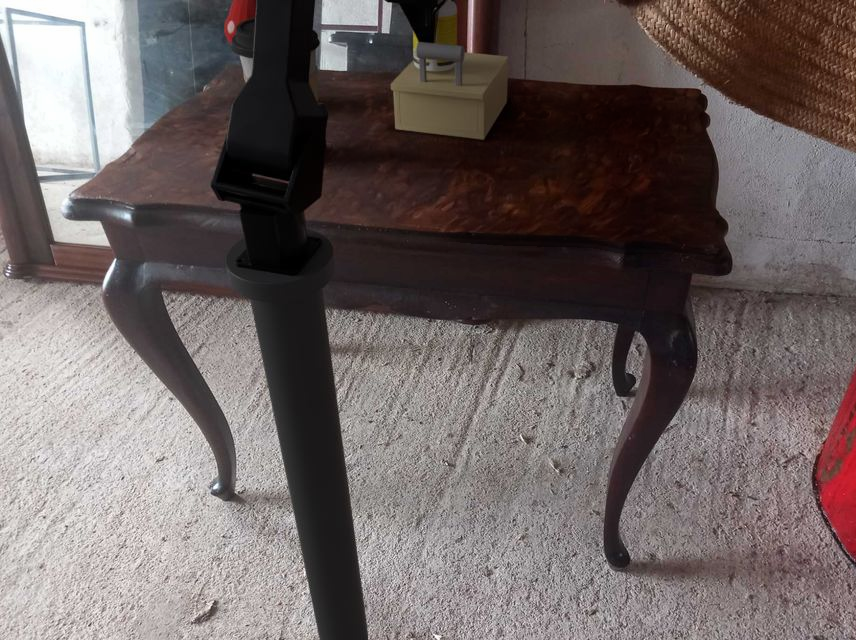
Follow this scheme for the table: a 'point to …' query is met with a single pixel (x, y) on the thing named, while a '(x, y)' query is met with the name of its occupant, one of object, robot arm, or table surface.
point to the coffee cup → (245, 44)
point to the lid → (451, 72)
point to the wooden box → (451, 111)
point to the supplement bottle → (441, 37)
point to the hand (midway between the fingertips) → (435, 46)
